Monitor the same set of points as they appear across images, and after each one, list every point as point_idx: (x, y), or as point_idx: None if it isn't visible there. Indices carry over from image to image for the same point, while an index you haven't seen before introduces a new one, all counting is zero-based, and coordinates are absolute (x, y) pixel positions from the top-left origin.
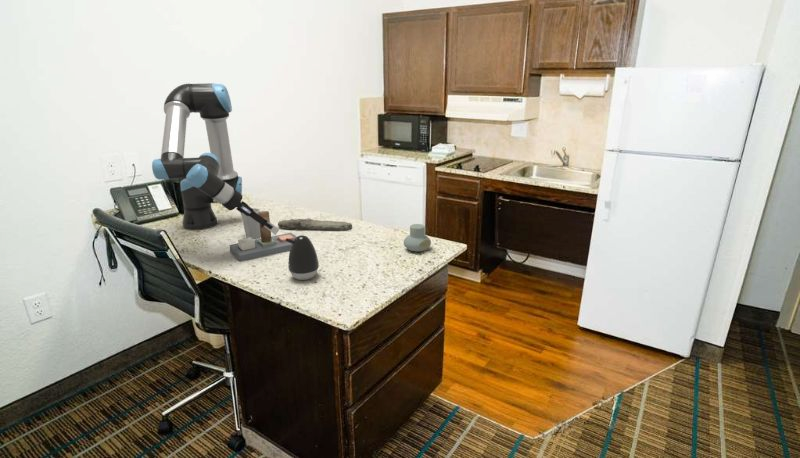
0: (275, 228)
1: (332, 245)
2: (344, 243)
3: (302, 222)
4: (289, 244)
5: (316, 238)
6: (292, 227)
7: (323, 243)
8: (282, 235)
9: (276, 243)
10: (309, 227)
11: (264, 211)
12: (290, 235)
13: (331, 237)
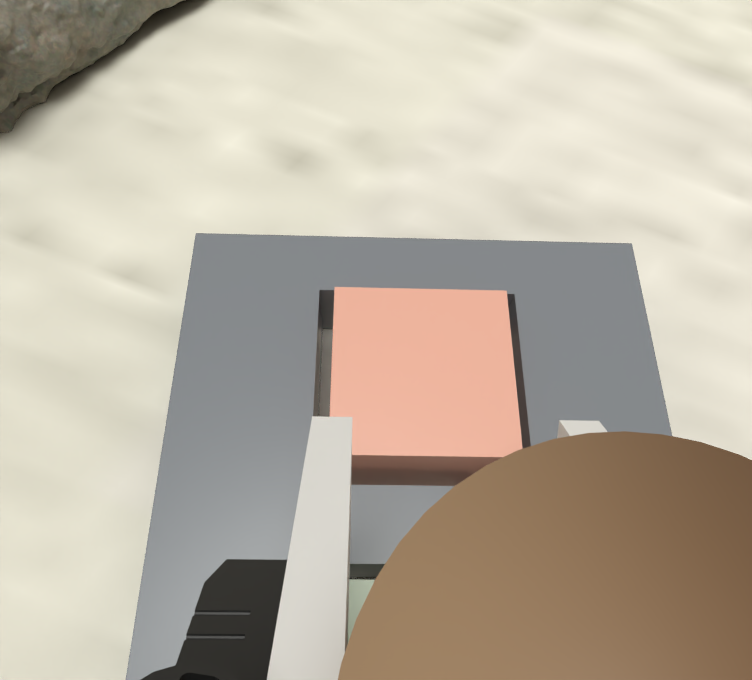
0: None
1: (675, 83)
2: (670, 4)
3: (12, 12)
4: (659, 423)
5: (400, 103)
6: None
7: (580, 114)
8: (225, 357)
9: None
10: (112, 27)
11: (458, 623)
12: (394, 291)
13: (457, 11)
